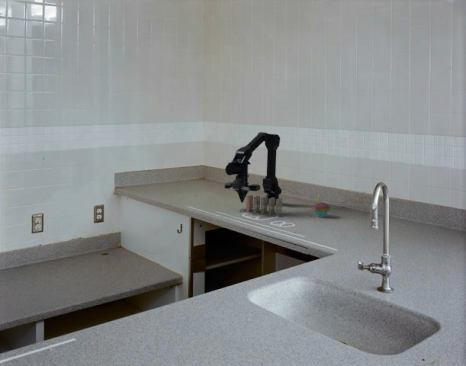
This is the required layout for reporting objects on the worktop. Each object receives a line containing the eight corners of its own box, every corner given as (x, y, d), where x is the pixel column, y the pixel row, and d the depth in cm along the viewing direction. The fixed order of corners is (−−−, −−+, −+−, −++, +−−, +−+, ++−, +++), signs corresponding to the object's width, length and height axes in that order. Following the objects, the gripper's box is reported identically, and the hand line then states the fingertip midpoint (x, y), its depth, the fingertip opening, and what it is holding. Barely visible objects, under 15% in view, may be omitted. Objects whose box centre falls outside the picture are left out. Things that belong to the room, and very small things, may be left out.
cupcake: (319, 218, 279) (320, 195, 277) (309, 215, 287) (310, 192, 285) (332, 217, 283) (333, 194, 281) (322, 213, 290) (323, 191, 289)
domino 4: (268, 214, 287) (268, 199, 286) (272, 212, 291) (272, 197, 290) (271, 214, 286) (271, 199, 285) (274, 212, 291) (275, 197, 289)
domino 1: (246, 211, 292) (246, 196, 291) (250, 209, 297) (250, 195, 296) (249, 212, 292) (249, 197, 290) (252, 210, 296) (253, 195, 295)
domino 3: (260, 213, 289) (261, 198, 288) (264, 211, 293) (264, 196, 292) (263, 213, 288) (263, 198, 287) (267, 211, 293) (267, 196, 291)
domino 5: (275, 215, 285) (276, 199, 284) (279, 213, 290) (279, 198, 288) (278, 215, 284) (278, 200, 283) (282, 213, 289) (282, 198, 288)
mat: (238, 212, 292) (238, 211, 292) (246, 209, 300) (246, 208, 300) (283, 217, 281) (283, 216, 281) (289, 214, 289) (289, 213, 289)
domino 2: (253, 212, 291) (253, 197, 289) (257, 210, 295) (257, 195, 294) (256, 212, 290) (256, 197, 289) (260, 211, 294) (260, 196, 293)
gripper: (219, 174, 290) (219, 203, 293) (252, 176, 282) (251, 206, 284) (229, 171, 300) (229, 199, 303) (261, 174, 292) (260, 203, 294)
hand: (242, 202), depth 296 cm, fingers closed
